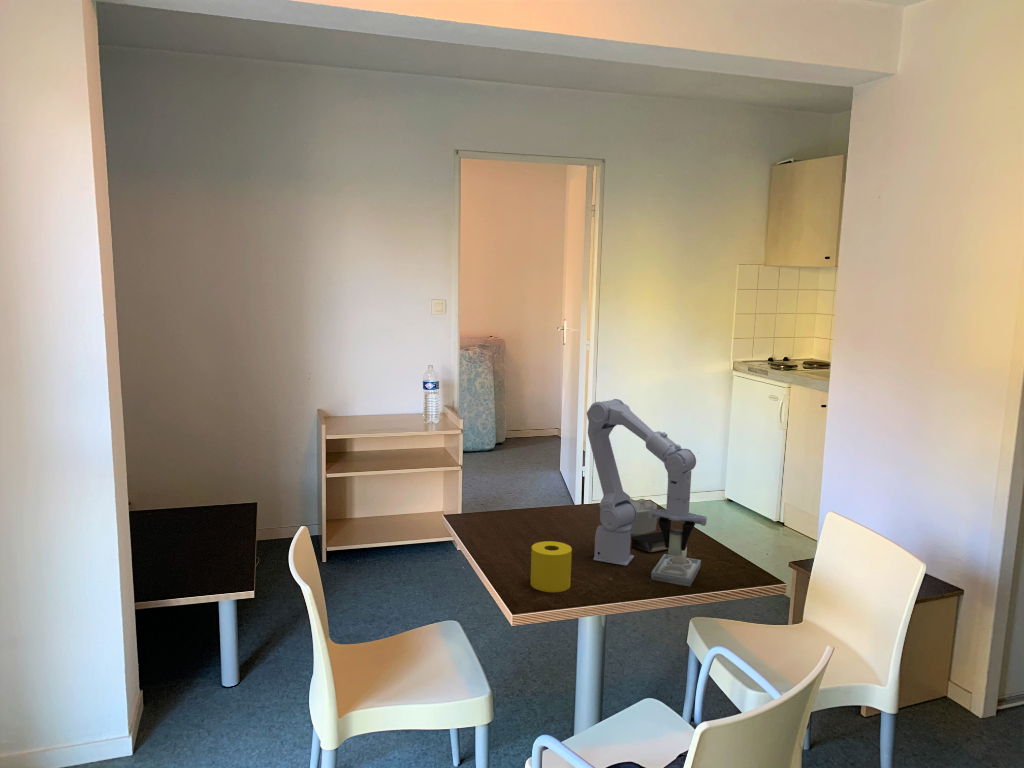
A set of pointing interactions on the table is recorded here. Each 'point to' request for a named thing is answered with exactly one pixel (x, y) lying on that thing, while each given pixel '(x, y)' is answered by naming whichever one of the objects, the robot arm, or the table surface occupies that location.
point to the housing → (676, 571)
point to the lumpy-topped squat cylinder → (643, 517)
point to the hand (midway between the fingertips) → (675, 548)
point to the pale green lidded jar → (675, 542)
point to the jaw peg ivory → (680, 558)
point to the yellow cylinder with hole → (551, 566)
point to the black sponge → (649, 542)
